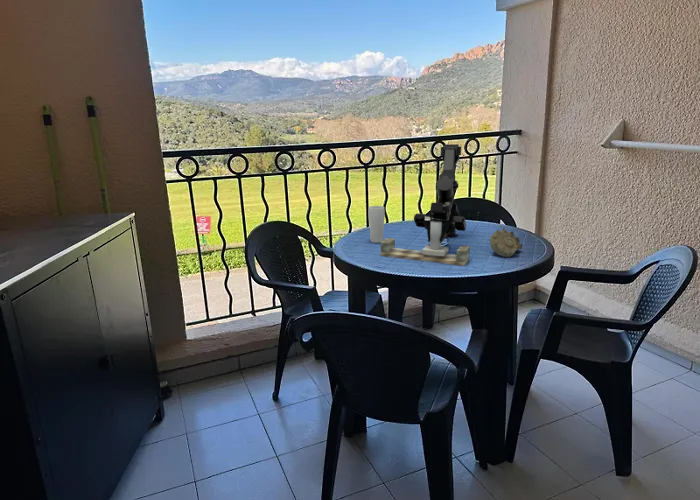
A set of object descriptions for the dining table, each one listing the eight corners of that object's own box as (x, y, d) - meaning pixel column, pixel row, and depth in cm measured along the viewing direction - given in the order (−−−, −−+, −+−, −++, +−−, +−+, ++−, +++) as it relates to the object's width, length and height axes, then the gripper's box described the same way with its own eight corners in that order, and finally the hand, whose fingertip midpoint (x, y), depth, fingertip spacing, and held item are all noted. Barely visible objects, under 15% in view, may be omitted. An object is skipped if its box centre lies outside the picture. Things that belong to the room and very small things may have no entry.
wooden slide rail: (380, 255, 168) (380, 242, 166) (388, 250, 175) (388, 236, 173) (464, 265, 154) (465, 250, 152) (469, 259, 161) (469, 245, 159)
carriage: (421, 253, 161) (422, 223, 157) (427, 248, 167) (428, 219, 163) (443, 256, 157) (444, 225, 154) (448, 251, 163) (449, 220, 160)
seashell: (485, 259, 164) (487, 234, 161) (494, 245, 176) (496, 222, 172) (516, 264, 159) (519, 238, 155) (523, 249, 171) (525, 225, 167)
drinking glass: (383, 244, 183) (383, 208, 179) (367, 243, 185) (367, 208, 180) (385, 239, 190) (385, 205, 185) (370, 239, 191) (369, 205, 187)
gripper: (415, 192, 163) (405, 227, 157) (466, 194, 155) (457, 232, 149) (421, 209, 172) (412, 243, 166) (469, 212, 164) (461, 248, 158)
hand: (434, 241), depth 159 cm, fingers closed on carriage, 4 cm apart
